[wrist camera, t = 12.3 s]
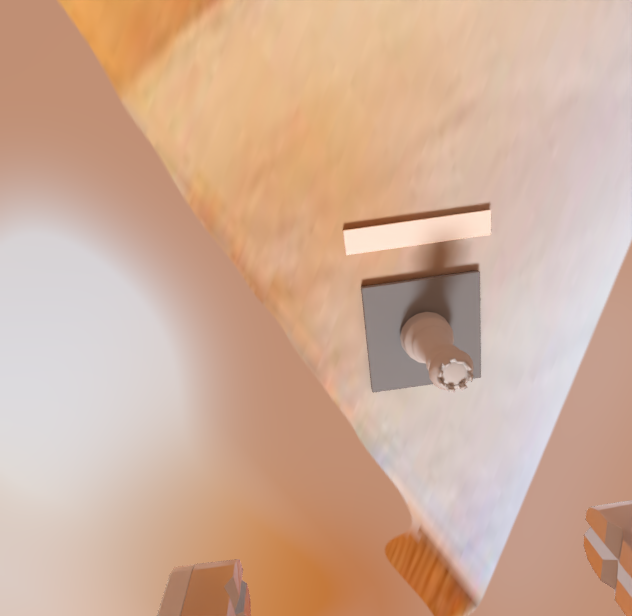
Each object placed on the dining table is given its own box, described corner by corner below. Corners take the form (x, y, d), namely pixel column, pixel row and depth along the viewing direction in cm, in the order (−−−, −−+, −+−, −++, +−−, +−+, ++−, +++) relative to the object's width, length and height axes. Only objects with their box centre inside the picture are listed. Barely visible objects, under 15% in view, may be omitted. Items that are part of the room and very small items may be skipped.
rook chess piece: (439, 301, 36) (476, 336, 29) (455, 345, 38) (495, 389, 30) (391, 322, 37) (415, 362, 29) (409, 364, 38) (436, 413, 30)
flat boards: (342, 230, 35) (343, 231, 34) (488, 209, 34) (491, 210, 34) (361, 390, 39) (361, 393, 39) (488, 372, 39) (491, 375, 39)
